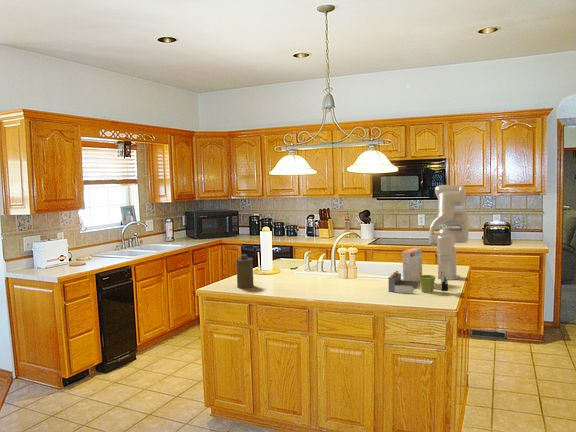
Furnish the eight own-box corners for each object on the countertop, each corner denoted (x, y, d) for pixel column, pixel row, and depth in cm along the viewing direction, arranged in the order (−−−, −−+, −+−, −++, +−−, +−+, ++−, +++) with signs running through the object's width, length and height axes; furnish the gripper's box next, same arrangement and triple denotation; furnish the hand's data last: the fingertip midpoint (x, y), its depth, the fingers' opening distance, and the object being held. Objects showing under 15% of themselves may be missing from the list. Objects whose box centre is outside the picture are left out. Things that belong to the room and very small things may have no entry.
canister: (250, 288, 286) (249, 256, 285) (234, 288, 289) (233, 256, 287) (256, 284, 297) (254, 253, 295) (240, 284, 299) (239, 253, 298)
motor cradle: (395, 286, 279) (395, 269, 279) (418, 287, 273) (418, 270, 272) (388, 291, 266) (388, 274, 265) (412, 293, 260) (412, 276, 259)
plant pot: (434, 294, 257) (434, 278, 256) (416, 293, 262) (416, 277, 261) (437, 290, 265) (437, 275, 264) (420, 289, 270) (420, 274, 269)
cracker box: (413, 281, 291) (413, 247, 289) (422, 282, 287) (422, 248, 285) (402, 285, 281) (401, 250, 279) (411, 286, 277) (411, 251, 275)
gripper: (439, 255, 266) (439, 287, 267) (434, 259, 253) (435, 293, 254) (453, 256, 262) (453, 288, 264) (449, 260, 249) (449, 294, 251)
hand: (444, 290), depth 259 cm, fingers closed
